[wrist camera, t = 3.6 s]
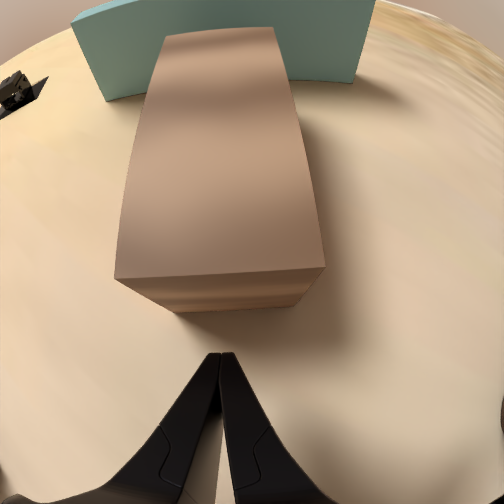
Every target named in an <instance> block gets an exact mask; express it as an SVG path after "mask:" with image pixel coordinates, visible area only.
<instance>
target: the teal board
mask: <svg viewBox="0 0 504 504" xmlns="http://www.w3.org/2000/svg"><path fill="white" fill-rule="evenodd" d="M375 1H376V0H114V1H111V2H108V3H105V4H102V5H99V6H97V7H94V8H91V9H88V10H86V11H83V12H81V13H80V14H79V15H78V16H77V17H76V18H75V19H74V20H73V21H72V22H71V26H72V28H73V31H74V33H75V35H76V38H77V40H78V42H79V45H80V47H81V49H82V51H83V54H84V56H85V58H86V60H87V63H88V65H89V67H90V69H91V71H92V73H93V75H94V78H95V80H96V82H97V84H98V86H99V88H100V90H101V92H102V94H103V96H104V98H105V100H106V101H110V100H114V99H118V98H122V97H127V96H131V95H136V94H141V93H146V92H147V91H148V87H149V84H150V81H151V78H152V74H153V71H154V68H155V65H156V62H157V60H158V57H159V54H160V51H161V48H162V46H163V43H164V40H165V38H166V36H170V35H176V34H183V33H189V32H197V31H205V30H215V29H227V28H245V27H273V29H274V32H275V36H276V39H277V42H278V46H279V49H280V52H281V56H282V59H283V63H284V66H285V70H286V74H287V77H288V80H313V81H330V82H342V83H353V80H354V76H355V73H356V70H357V66H358V63H359V59H360V56H361V52H362V49H363V45H364V42H365V38H366V35H367V31H368V27H369V24H370V20H371V16H372V12H373V9H374V5H375Z"/></svg>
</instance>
